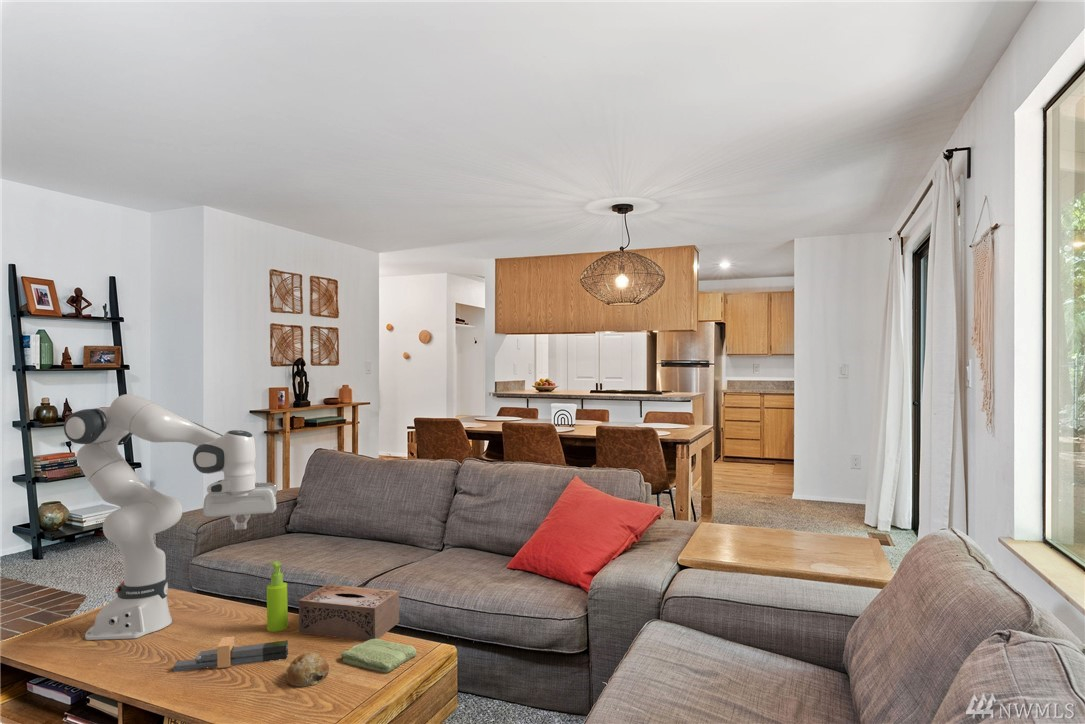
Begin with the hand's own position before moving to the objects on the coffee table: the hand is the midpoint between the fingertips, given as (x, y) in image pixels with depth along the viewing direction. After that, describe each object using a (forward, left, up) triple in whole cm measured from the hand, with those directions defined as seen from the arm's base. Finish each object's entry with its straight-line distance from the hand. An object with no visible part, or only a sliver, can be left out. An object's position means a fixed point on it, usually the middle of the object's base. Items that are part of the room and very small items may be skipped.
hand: (240, 529), depth 194 cm
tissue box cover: (+32, -6, -32) cm, 45 cm away
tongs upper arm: (+5, -22, -29) cm, 37 cm away
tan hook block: (+1, -22, -31) cm, 38 cm away
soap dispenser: (+10, 0, -31) cm, 33 cm away
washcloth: (+41, -30, -32) cm, 60 cm away
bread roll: (+23, -36, -32) cm, 53 cm away
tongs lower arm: (+2, -22, -31) cm, 38 cm away
